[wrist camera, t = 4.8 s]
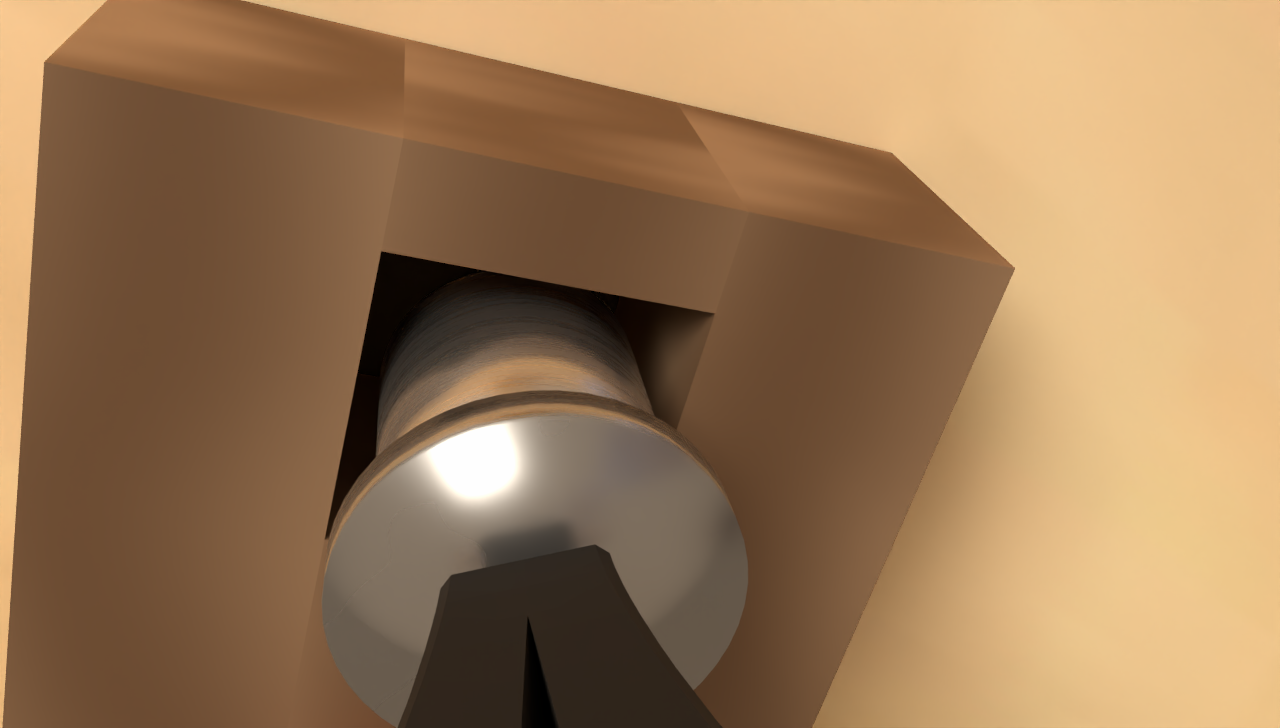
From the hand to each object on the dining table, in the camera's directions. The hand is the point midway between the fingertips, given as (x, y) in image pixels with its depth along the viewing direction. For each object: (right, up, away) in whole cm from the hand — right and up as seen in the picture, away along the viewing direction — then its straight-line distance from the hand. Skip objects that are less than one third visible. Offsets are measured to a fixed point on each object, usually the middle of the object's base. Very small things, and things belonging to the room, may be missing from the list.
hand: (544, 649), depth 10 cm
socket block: (-3, -2, +9) cm, 10 cm away
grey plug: (-1, +2, +4) cm, 5 cm away
